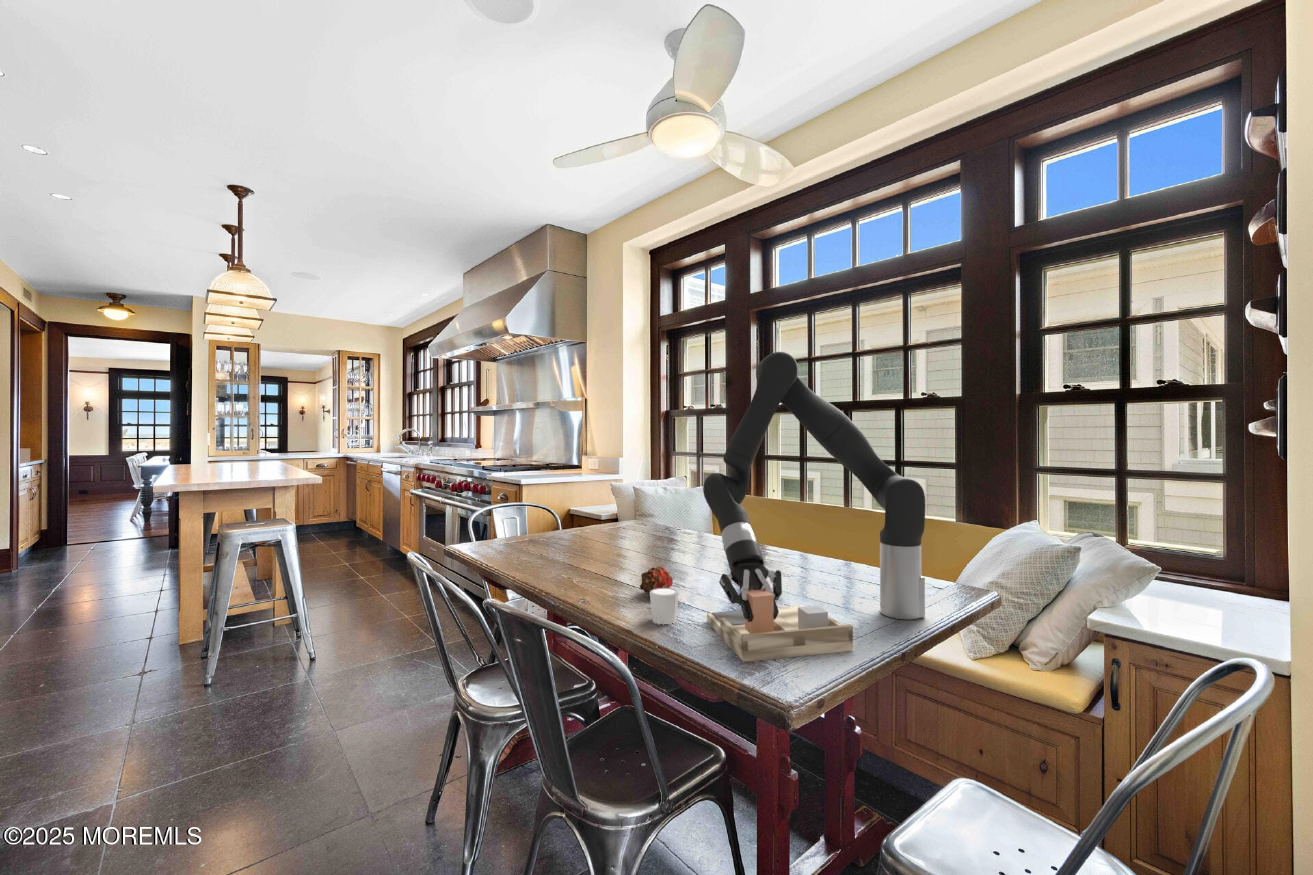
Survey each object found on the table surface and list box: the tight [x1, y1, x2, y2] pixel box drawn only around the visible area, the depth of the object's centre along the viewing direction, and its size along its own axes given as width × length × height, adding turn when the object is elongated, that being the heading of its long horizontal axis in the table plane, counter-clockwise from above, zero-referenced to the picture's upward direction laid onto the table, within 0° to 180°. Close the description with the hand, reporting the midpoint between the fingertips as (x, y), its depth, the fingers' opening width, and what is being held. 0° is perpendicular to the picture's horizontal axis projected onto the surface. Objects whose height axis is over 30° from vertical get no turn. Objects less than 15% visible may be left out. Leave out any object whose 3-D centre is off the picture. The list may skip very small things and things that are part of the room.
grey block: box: [798, 605, 829, 629], centre depth 122 cm, size 4×4×5 cm
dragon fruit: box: [639, 565, 673, 596], centre depth 158 cm, size 8×8×12 cm
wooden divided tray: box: [706, 605, 854, 663], centre depth 126 cm, size 24×24×5 cm
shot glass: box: [649, 587, 680, 626], centre depth 137 cm, size 7×7×7 cm
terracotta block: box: [745, 590, 774, 634], centre depth 119 cm, size 4×4×8 cm
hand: (762, 618), depth 117 cm, fingers closed on terracotta block, 4 cm apart
